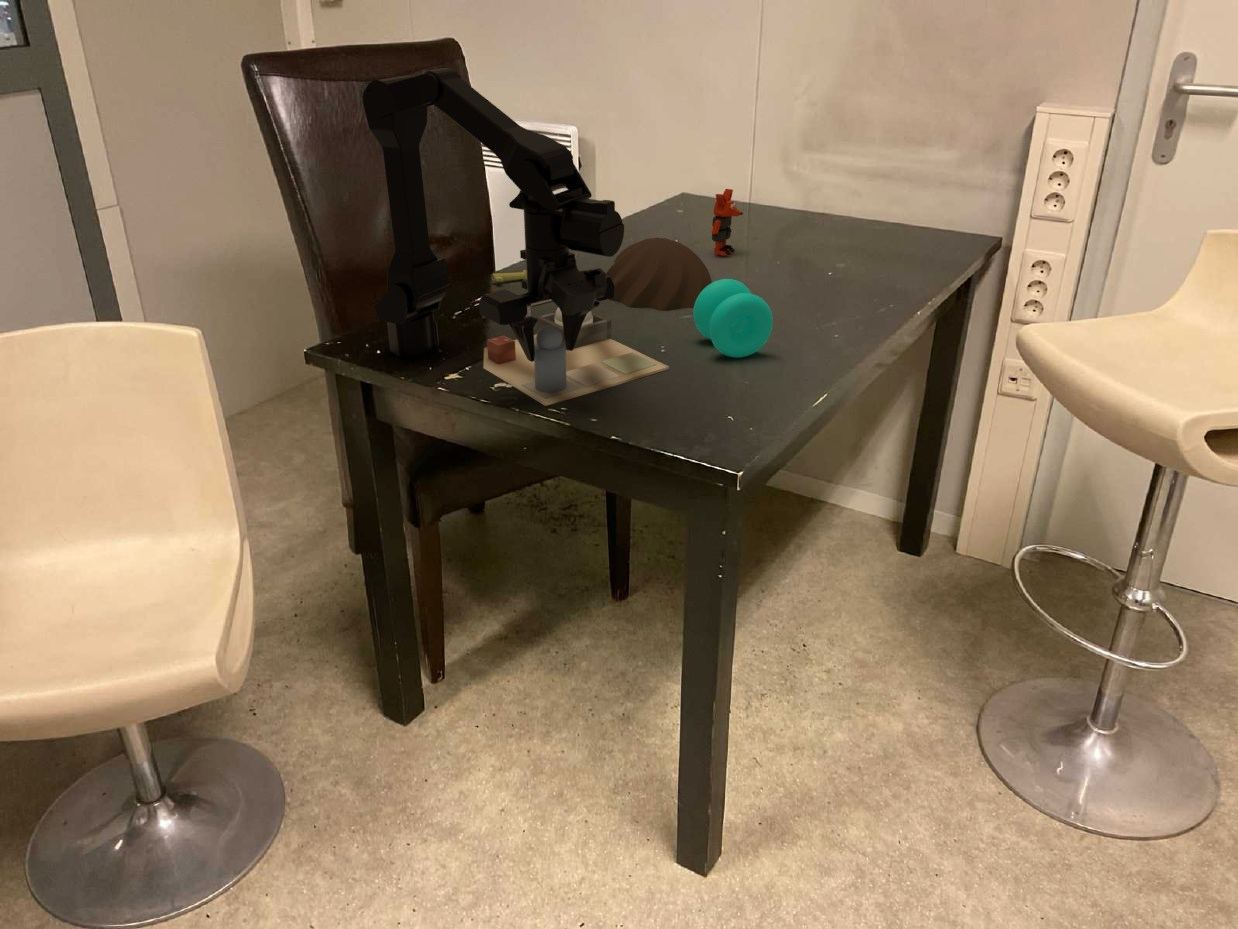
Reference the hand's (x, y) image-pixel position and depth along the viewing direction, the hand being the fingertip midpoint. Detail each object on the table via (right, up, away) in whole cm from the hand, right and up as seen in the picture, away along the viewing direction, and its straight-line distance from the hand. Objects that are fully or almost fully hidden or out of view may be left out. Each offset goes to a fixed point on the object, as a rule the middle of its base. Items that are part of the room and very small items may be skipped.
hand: (550, 355), depth 139 cm
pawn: (0, -4, +2) cm, 5 cm away
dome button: (+2, +5, +20) cm, 20 cm away
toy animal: (+31, +27, +62) cm, 74 cm away
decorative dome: (+16, +15, +41) cm, 47 cm away
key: (-8, +16, +41) cm, 45 cm away
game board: (+1, 0, +11) cm, 11 cm away
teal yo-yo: (+27, +3, +17) cm, 32 cm away
